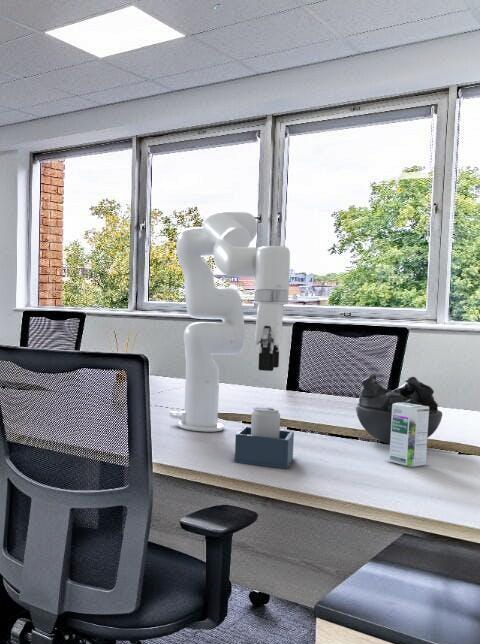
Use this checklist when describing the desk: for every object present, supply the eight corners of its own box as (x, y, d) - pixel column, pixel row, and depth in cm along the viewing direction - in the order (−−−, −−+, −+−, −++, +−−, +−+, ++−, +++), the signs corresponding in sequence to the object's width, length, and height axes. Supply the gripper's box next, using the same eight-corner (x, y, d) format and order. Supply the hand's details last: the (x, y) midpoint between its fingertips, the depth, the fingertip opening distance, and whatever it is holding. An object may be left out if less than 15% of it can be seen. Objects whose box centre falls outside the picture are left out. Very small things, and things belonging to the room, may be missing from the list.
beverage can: (281, 461, 166) (283, 411, 165) (252, 459, 167) (254, 409, 166) (275, 455, 172) (277, 406, 171) (247, 453, 173) (249, 405, 173)
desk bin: (234, 462, 168) (235, 434, 167) (242, 452, 177) (243, 426, 177) (287, 469, 162) (288, 440, 161) (292, 458, 172) (293, 431, 171)
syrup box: (387, 461, 170) (390, 403, 169) (404, 459, 173) (407, 401, 172) (410, 467, 165) (413, 406, 164) (427, 465, 167) (430, 405, 167)
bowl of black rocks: (459, 451, 183) (463, 380, 182) (399, 455, 177) (403, 381, 176) (392, 435, 202) (396, 371, 201) (337, 438, 196) (340, 372, 195)
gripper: (259, 297, 177) (257, 365, 177) (248, 297, 162) (246, 370, 163) (292, 298, 173) (289, 366, 174) (284, 298, 158) (281, 373, 159)
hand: (268, 368), depth 168 cm, fingers open, 9 cm apart
